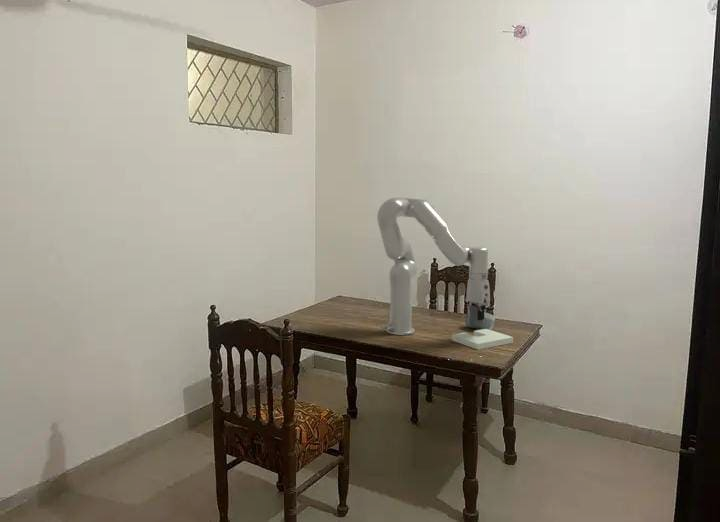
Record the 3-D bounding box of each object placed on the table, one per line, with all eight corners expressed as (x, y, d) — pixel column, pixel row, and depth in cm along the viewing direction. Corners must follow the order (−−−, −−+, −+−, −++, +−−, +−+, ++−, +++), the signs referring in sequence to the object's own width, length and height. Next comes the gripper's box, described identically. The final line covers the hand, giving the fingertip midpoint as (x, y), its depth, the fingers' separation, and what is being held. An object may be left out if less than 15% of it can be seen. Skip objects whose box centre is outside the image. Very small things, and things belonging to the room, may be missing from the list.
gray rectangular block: (475, 325, 234) (476, 307, 233) (469, 324, 238) (469, 305, 237) (482, 324, 236) (483, 306, 235) (476, 322, 240) (476, 304, 239)
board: (478, 349, 223) (478, 343, 223) (451, 340, 236) (451, 334, 236) (513, 342, 233) (513, 337, 233) (485, 334, 247) (486, 328, 247)
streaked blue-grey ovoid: (458, 321, 256) (468, 302, 256) (466, 327, 263) (477, 308, 264) (482, 334, 247) (493, 314, 247) (490, 339, 254) (501, 320, 255)
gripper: (499, 278, 230) (497, 321, 232) (470, 273, 244) (469, 314, 246) (485, 280, 226) (484, 323, 228) (458, 274, 240) (457, 316, 242)
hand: (477, 318), depth 237 cm, fingers closed on gray rectangular block, 4 cm apart
